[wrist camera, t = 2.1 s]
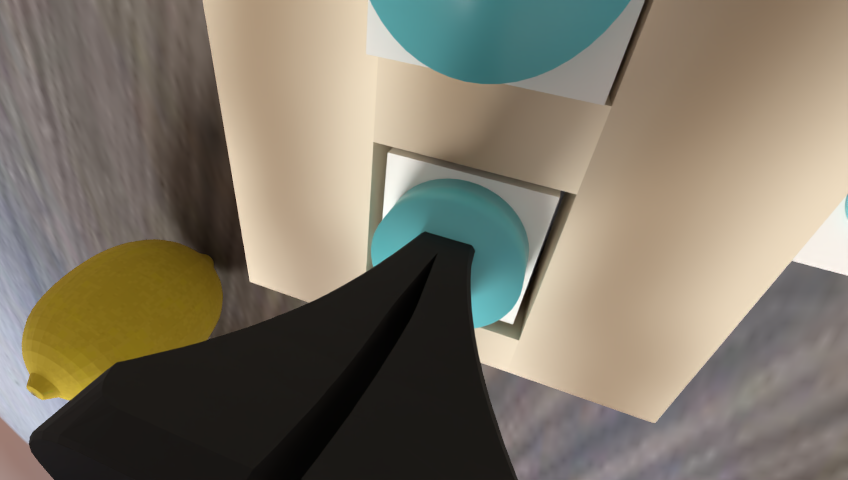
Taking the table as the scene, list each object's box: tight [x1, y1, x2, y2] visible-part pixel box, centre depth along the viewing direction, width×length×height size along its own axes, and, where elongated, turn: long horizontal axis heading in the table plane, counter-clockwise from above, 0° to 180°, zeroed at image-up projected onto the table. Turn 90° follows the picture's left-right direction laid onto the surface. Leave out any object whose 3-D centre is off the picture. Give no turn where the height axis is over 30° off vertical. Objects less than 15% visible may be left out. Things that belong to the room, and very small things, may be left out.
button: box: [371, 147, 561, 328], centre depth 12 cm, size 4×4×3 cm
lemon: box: [22, 239, 223, 400], centre depth 17 cm, size 6×6×8 cm
